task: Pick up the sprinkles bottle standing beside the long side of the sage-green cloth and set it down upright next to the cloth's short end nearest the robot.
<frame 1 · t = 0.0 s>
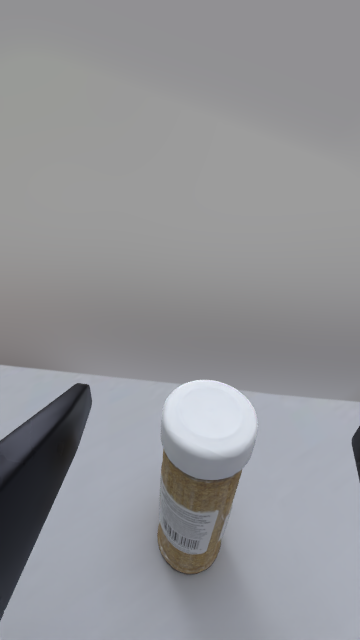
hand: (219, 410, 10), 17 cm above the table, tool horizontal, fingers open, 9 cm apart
sprinkles bottle: (187, 536, 21), on the table
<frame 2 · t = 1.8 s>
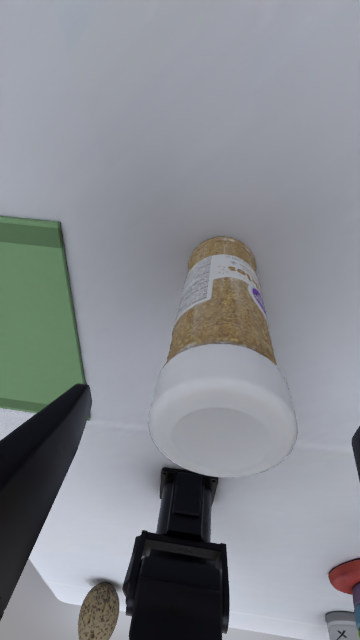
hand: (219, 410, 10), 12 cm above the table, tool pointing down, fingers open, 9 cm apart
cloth: (17, 333, 25), on the table
decorative egg: (107, 582, 59), on the table
sprinkles bottle: (220, 266, 20), on the table
travel mug: (342, 615, 53), on the table
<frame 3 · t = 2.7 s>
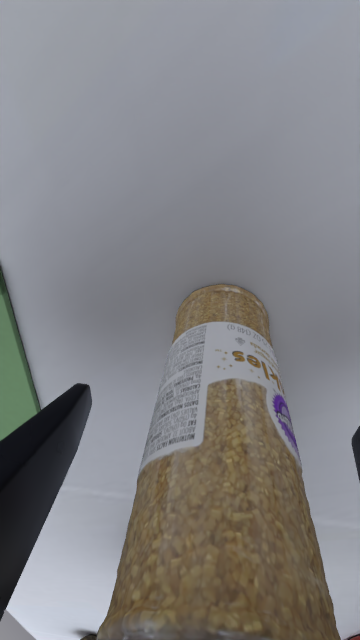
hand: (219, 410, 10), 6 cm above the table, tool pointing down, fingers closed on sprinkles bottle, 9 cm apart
decorative egg: (94, 634, 53), on the table
sprinkles bottle: (219, 319, 15), on the table, touching gripper
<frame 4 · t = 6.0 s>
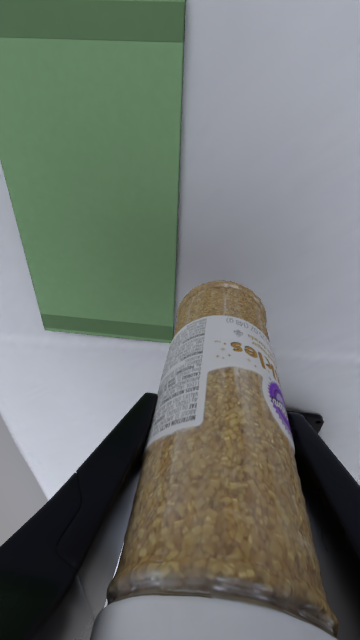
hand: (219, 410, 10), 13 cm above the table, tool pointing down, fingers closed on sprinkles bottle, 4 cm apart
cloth: (95, 212, 19), on the table
sprinkles bottle: (219, 315, 15), point 6 cm above the table, touching gripper
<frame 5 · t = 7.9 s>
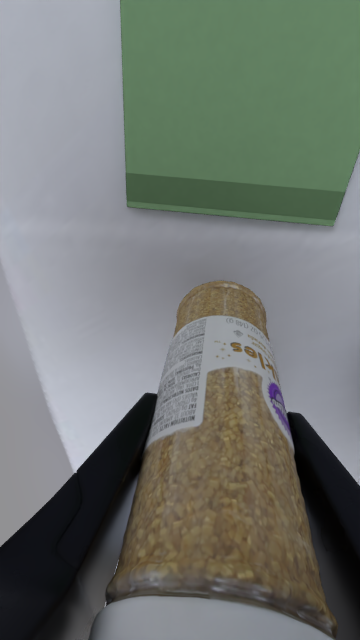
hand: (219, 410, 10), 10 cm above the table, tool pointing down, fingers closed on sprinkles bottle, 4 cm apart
sprinkles bottle: (219, 315, 15), point 4 cm above the table, touching gripper
when the fingers open (6 cm above the table, at t = 9.2 s): sprinkles bottle stays where it is, on the table.
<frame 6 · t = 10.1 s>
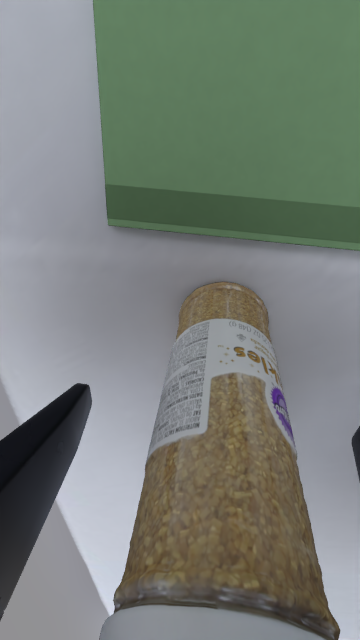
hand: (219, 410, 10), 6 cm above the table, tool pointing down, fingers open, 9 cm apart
sprinkles bottle: (221, 315, 15), on the table
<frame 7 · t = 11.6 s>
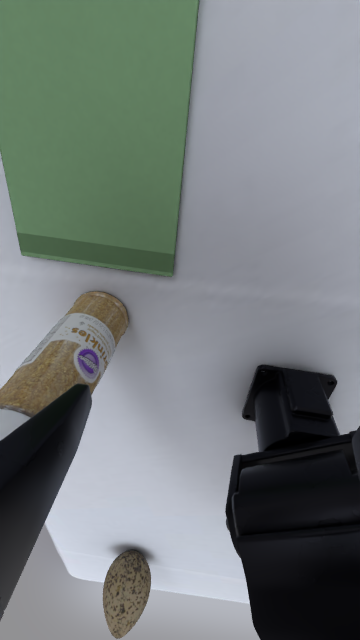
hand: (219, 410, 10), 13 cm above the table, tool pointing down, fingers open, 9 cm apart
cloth: (88, 90, 16), on the table
decorative egg: (134, 550, 49), on the table
sprinkles bottle: (102, 312, 24), on the table
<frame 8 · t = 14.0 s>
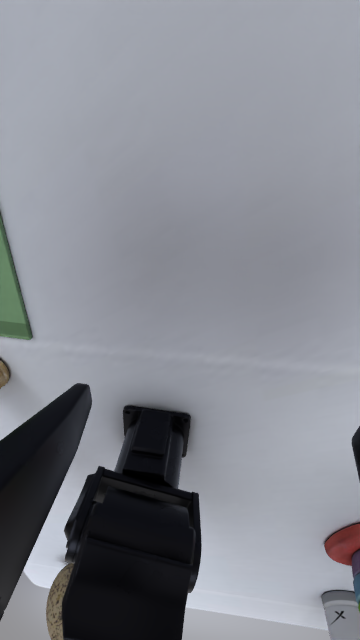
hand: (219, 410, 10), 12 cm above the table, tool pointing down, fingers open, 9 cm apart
decorative egg: (81, 561, 53), on the table
travel mug: (340, 595, 48), on the table
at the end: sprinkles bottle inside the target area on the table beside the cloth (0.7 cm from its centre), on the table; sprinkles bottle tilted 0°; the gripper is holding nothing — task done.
